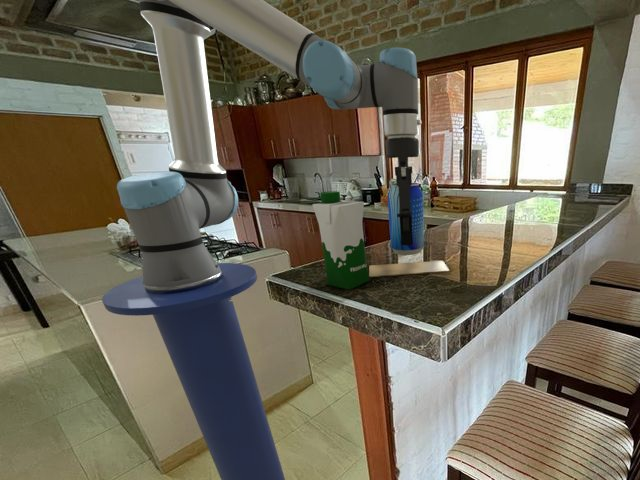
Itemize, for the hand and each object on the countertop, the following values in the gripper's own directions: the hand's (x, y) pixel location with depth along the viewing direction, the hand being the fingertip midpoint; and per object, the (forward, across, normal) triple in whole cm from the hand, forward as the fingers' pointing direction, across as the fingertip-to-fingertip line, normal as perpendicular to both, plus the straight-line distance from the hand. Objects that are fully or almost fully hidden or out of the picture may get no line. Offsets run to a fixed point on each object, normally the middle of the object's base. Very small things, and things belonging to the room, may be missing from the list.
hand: (407, 240), depth 83 cm
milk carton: (+8, -9, +14) cm, 18 cm away
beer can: (+3, 0, 0) cm, 3 cm away
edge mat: (+7, 0, 0) cm, 7 cm away
